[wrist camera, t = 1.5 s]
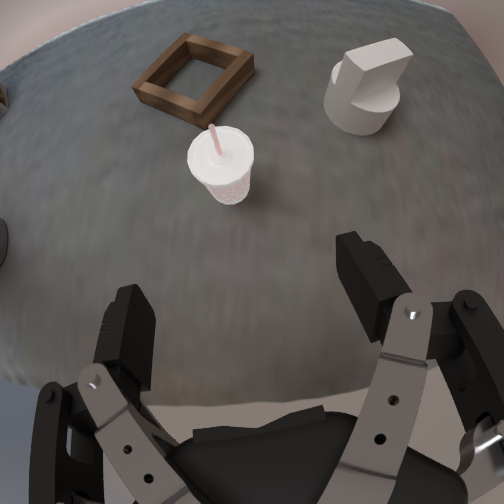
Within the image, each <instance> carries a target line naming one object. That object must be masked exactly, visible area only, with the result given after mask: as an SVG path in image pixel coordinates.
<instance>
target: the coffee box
mask: <svg viewBox="0 0 504 504" xmlns="http://www.w3.org/2000/svg"><path fill="white" fill-rule="evenodd" d="M8 108H9V106H8V98H7V89H6V88H5V87H4V86H3V85H2V84H0V117H1V116H2V115H3V114H4V113H5V112H6V111H7V110H8Z"/></svg>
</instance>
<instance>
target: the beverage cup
mask: <svg viewBox="0 0 504 504" xmlns="http://www.w3.org/2000/svg"><path fill="white" fill-rule="evenodd" d="M208 128H209V129H208V130H206V131H204V132H202V133H201V134H200V135H199V136H198V137H196V138H195V139H194V140H193V142H192V144H191V146H190V148H189V150H188V162H187V163H188V165H189V167H190V170H191V172H192V174H193V175H194V177H196V178H197V179H198V180H199V181H200V182H201V183H202V184H204V185H205V186H206V188H207V189H208V190H209V191H210V193H211V194H212V195H213V196H214V198H216V199H217V200H218V201H219V202H220V203H223V204H226V205H230V204H236V203H238V202H241V201H242V200H243V199H244V198H245V197H246V196H247V194H248V191H249V187H250V169H251V167H252V164H253V162H254V153H253V145H252V143H251V141H250V140H249V138H248V136H247V135H245V134H244V133H243V132H241V131H240V130H239V129H236V128H232V127H228V126H220V127H215V126H214V124H210V125H209V126H208Z"/></svg>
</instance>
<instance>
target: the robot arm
mask: <svg viewBox="0 0 504 504" xmlns="http://www.w3.org/2000/svg"><path fill="white" fill-rule="evenodd" d="M7 242H8V235H7V228H6V225H5V223H4V221H3V220H2V219H1V218H0V265H1V264H2V262H3V260H4V257H5V254H6V249H7ZM336 268H337V273H338V276H339V279H340V281H341V283H342V285H343V287H344V289H345V291H346V293H347V295H348V297H349V299H350V301H351V303H352V305H353V307H354V309H355V311H356V313H357V315H358V317H359V319H360V321H361V323H362V325H363V327H364V330H365V332H366V334H367V336H368V338H369V340H370V342H371V343H373V342H376V341H379V340H380V342H381V344H382V346H383V347H382V351H381V354H380V357H379V360H378V364H377V367H376V370H375V373H374V376H373V379H372V382H371V385H370V388H369V391H368V394H367V396H366V399H365V402H364V404H363V407H362V410H361V412H360V415H359V417H356V416H353V415H350V414H347V413H342V412H325V411H324V408H323V405H320V406H316V407H312V408H309V409H305V410H301V411H297V412H293V413H290V414H288V415H286V416H283V417H281V418H279V419H277V420H275V421H273V422H271V423H268V424H266V425H264V426H262V427H259V428H243V427H230V426H219V427H211V428H203V429H194V430H193V437H192V438H190V439H188V440H186V441H184V442H182V443H181V444H179V443H178V442H177V441H176V440H175V439H173V437H171V436H170V435H169V434H168V433H167V432H166V431H165V429H164V428H163V427H162V426H161V425H160V423H159V422H158V421H157V420H156V419H155V417H154V416H153V414H152V413H151V412H150V410H149V409H148V408H147V407H146V405H145V404H144V403H143V401H142V400H141V399H140V392H142V391H150V387H151V371H152V358H153V346H154V335H155V326H156V318H155V314H154V311H153V309H152V307H151V305H150V304H149V302H148V300H147V299H146V297H145V296H144V294H143V292H142V291H141V289H140V287H139V286H138V285H137V284H133V285H129V286H124V287H120V288H119V289H118V291H117V294H116V298H115V302H111V304H110V305H109V307H108V308H107V310H106V311H105V313H104V317H103V321H102V325H101V329H100V333H99V337H98V342H97V346H96V351H95V355H94V360H93V364H91V365H89V366H87V367H86V368H85V369H84V370H83V371H82V372H81V374H80V376H79V378H78V382H76V383H74V384H71V385H69V386H67V387H64V388H63V387H62V386H61V385H59V384H58V383H57V382H49V383H47V384H46V385H45V386H44V387H43V388H42V389H41V391H40V393H39V396H38V402H37V407H36V414H35V420H34V427H33V435H32V443H31V454H30V469H29V504H105V501H104V483H103V451H104V453H105V454H106V456H107V458H108V459H109V461H110V463H111V464H112V466H113V467H114V469H115V470H116V472H117V474H118V475H119V477H120V478H121V479H122V481H123V482H124V484H125V485H126V487H127V488H128V490H129V491H130V492H131V494H132V495H133V497H134V498H135V499H136V500H135V501H134V503H133V504H469V503H471V502H472V501H474V500H475V499H477V498H479V497H480V496H482V495H484V494H485V493H487V492H488V491H490V490H491V489H493V488H495V487H496V486H497V485H499V484H500V483H502V482H503V481H504V330H503V328H502V326H501V325H500V323H499V321H498V320H497V318H496V317H495V315H494V314H493V312H492V310H491V309H490V307H489V306H488V304H487V303H486V301H485V300H484V299H483V297H482V296H481V295H480V294H478V293H477V292H475V291H472V290H462V291H459V292H458V293H457V294H456V295H455V296H454V299H453V301H450V302H430V301H429V300H428V299H427V298H426V297H424V296H423V295H421V294H418V293H413V292H412V291H411V289H410V288H409V286H408V285H407V283H406V282H405V280H404V279H403V278H402V276H401V275H400V273H399V272H398V271H397V269H396V268H395V266H394V265H392V262H391V261H390V259H389V258H387V255H386V254H385V253H384V251H383V250H382V249H381V247H379V246H378V245H376V244H375V243H373V242H372V241H366V242H363V241H362V239H361V238H360V236H359V235H358V234H357V232H355V231H352V232H348V233H344V234H340V235H337V236H336ZM427 359H436V361H437V363H438V365H439V367H440V369H441V371H442V374H443V376H444V379H445V381H446V383H447V385H448V388H449V390H450V392H451V395H452V397H453V400H454V402H455V405H456V408H457V410H458V413H459V415H460V418H461V421H462V423H463V426H464V429H465V431H466V433H465V434H464V436H463V437H462V440H461V442H460V448H459V449H460V450H459V451H460V465H459V467H458V469H457V471H456V472H455V471H454V470H452V469H450V468H448V467H446V466H444V465H442V464H440V463H438V462H436V461H434V460H432V459H431V458H428V457H427V456H425V455H423V454H421V453H419V452H417V451H416V450H414V449H412V448H410V447H408V443H409V440H410V436H411V433H412V430H413V426H414V423H415V420H416V416H417V413H418V409H419V405H420V401H421V397H422V393H423V389H424V384H425V380H426V375H427V368H428V365H427V364H426V363H425V362H426V360H427ZM68 428H70V429H72V437H71V455H70V456H69V455H68V453H67V449H66V442H67V430H68Z"/></svg>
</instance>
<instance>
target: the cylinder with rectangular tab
mask: <svg viewBox="0 0 504 504" xmlns="http://www.w3.org/2000/svg"><path fill="white" fill-rule="evenodd" d="M412 56H413V53H412V52H411V51H410V50H409V49H408V48H407V47H406V46H405V45H404V44H403V43H402V42H401V41H399V40H398V39H396V38H392V39H388V40H385V41H381V42H377V43H374V44H370V45H367V46H364V47H360V48H357V49H354V50H351V51H348V52H345V55H344V58H343V60H342V61H341V62H339V63H337V64H336V66H335V67H334V68H333V71H332V74H331V78H330V81H329V84H328V87H327V91H326V94H325V97H324V109H325V112H326V114H327V116H328V117H329V119H330V120H331V121H332V122H333V123H334V124H335V125H336V126H337V127H339V128H340V129H342V130H344V131H345V132H348V133H351V134H354V135H360V136H364V135H371V134H374V133H376V132H377V131H378V130H380V129H381V127H382V126H383V124H384V123H385V122H386V120H387V119H388V117H389V116H390V114H391V113H392V112H393V110H394V109H395V107H396V106H397V104H398V102H399V99H400V92H399V88H398V86H397V84H396V82H397V81H398V79H399V77H400V76H401V74H402V72H403V71H404V69H405V67H406V66H407V64H408V62H409V61H410V59H411V57H412Z"/></svg>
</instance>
